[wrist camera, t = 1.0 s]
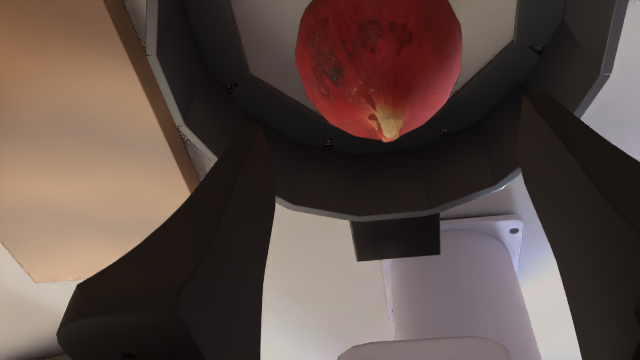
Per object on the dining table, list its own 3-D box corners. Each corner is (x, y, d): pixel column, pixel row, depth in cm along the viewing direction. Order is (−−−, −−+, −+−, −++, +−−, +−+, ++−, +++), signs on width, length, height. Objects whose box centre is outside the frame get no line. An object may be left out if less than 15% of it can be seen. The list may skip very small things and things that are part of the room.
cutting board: (228, 247, 33) (225, 267, 32) (44, 264, 34) (35, 283, 33) (74, -113, 19) (58, -100, 18) (-218, -60, 21) (-249, -45, 20)
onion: (274, 21, 23) (252, 144, 17) (358, -102, 19) (367, -3, 13) (383, 90, 25) (397, 219, 19) (476, -10, 21) (528, 109, 16)
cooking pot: (543, 178, 28) (571, 244, 25) (249, 206, 30) (238, 272, 27) (643, -433, 14) (739, -466, 10) (67, -301, 16) (-5, -293, 12)
